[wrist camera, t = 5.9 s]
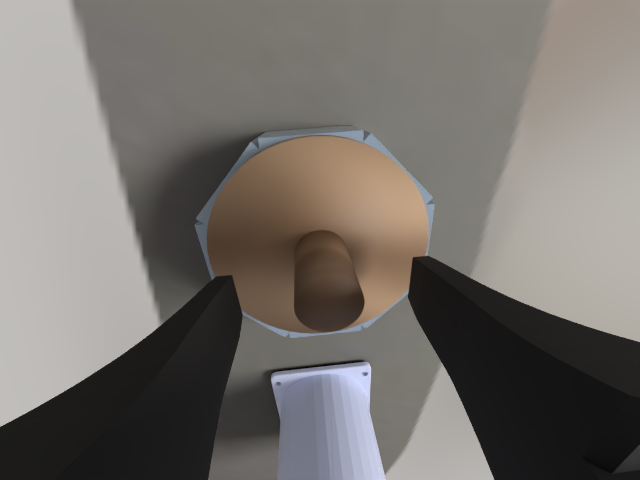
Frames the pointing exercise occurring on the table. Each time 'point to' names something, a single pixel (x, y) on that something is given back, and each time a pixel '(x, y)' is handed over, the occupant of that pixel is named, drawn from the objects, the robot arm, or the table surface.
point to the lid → (317, 233)
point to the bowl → (278, 136)
